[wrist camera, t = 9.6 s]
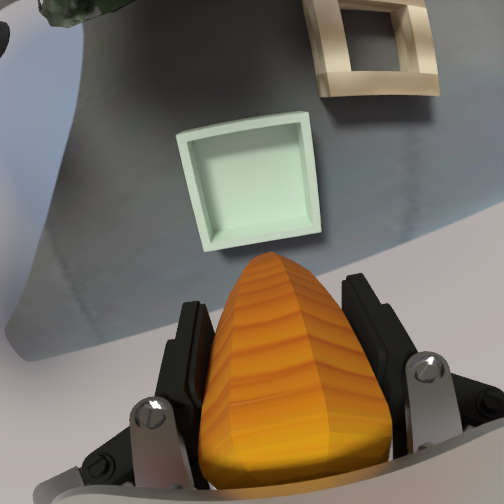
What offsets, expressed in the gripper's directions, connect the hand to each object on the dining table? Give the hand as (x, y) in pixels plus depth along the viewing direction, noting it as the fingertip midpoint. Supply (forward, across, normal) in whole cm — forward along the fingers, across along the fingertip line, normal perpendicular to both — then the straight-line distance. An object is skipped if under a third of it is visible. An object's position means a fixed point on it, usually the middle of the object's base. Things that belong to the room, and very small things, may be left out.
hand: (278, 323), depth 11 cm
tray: (+23, 0, 0) cm, 23 cm away
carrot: (+5, 0, 0) cm, 5 cm away
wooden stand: (+23, -14, -13) cm, 30 cm away
